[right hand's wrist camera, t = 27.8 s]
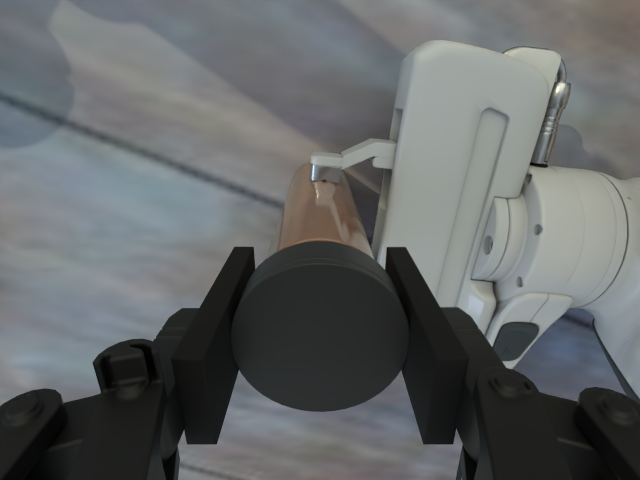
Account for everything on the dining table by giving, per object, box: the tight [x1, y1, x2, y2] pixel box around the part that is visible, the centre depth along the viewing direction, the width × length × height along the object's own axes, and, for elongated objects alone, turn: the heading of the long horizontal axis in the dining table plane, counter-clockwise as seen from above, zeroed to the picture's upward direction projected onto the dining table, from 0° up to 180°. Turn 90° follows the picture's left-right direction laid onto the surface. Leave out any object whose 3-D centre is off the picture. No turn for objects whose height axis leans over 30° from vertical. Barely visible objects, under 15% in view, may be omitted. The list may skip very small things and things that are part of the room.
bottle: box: [266, 162, 375, 260], centre depth 20 cm, size 5×5×18 cm
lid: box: [231, 241, 410, 412], centre depth 11 cm, size 5×5×2 cm
